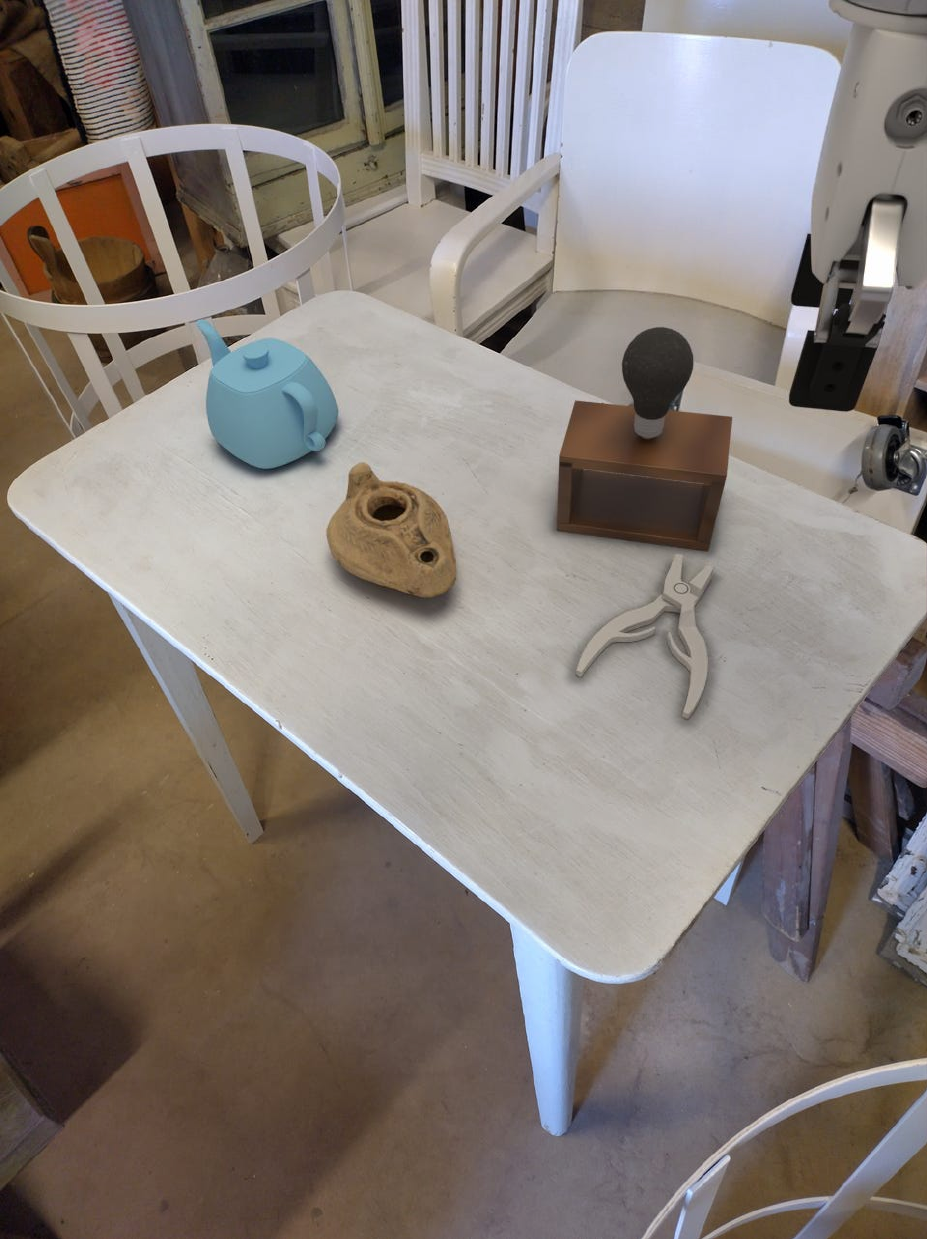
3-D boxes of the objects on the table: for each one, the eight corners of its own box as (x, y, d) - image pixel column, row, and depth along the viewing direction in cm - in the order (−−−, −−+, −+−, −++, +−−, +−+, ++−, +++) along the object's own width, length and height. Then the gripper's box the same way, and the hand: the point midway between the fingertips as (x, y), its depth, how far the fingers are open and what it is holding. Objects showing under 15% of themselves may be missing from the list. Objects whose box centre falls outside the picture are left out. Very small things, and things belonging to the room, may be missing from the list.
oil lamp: (416, 641, 70) (405, 578, 63) (307, 557, 77) (288, 493, 71) (503, 570, 74) (501, 505, 68) (393, 497, 81) (382, 432, 75)
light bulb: (643, 408, 73) (657, 305, 66) (693, 435, 71) (714, 331, 63) (601, 436, 71) (610, 333, 64) (651, 465, 68) (666, 361, 61)
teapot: (243, 290, 88) (354, 348, 79) (267, 376, 96) (371, 436, 88) (144, 342, 82) (252, 410, 74) (179, 428, 91) (280, 498, 82)
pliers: (574, 662, 65) (642, 541, 73) (573, 674, 66) (640, 553, 74) (693, 709, 62) (751, 577, 70) (690, 720, 63) (747, 589, 71)
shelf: (714, 493, 79) (732, 416, 72) (708, 551, 74) (727, 475, 67) (570, 475, 82) (575, 400, 75) (556, 530, 77) (559, 455, 70)
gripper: (1100, 34, 25) (904, 462, 39) (1014, -95, 36) (883, 277, 49) (845, 31, 27) (740, 443, 40) (834, -91, 37) (753, 268, 51)
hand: (819, 352), depth 45 cm, fingers open, 9 cm apart
